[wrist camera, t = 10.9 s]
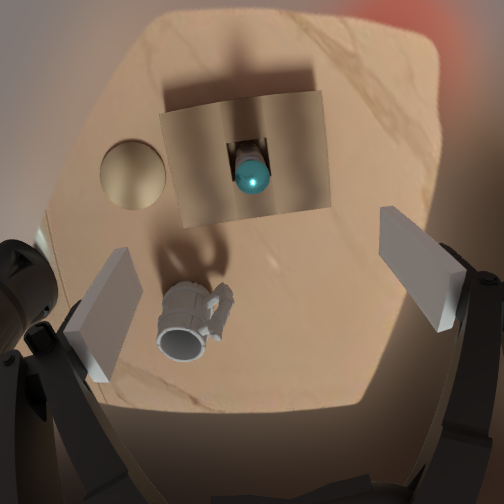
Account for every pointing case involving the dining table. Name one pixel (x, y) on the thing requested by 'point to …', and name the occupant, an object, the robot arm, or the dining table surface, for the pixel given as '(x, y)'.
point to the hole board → (240, 129)
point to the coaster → (132, 175)
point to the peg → (251, 169)
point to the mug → (192, 319)
